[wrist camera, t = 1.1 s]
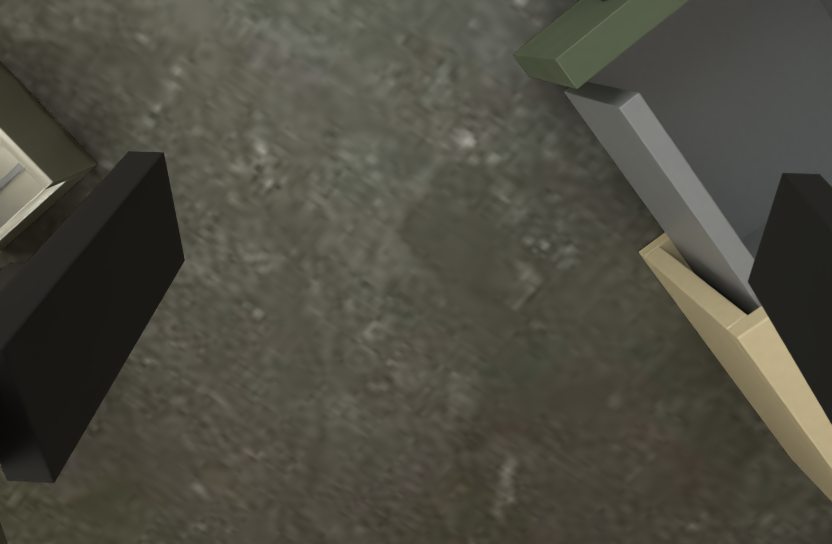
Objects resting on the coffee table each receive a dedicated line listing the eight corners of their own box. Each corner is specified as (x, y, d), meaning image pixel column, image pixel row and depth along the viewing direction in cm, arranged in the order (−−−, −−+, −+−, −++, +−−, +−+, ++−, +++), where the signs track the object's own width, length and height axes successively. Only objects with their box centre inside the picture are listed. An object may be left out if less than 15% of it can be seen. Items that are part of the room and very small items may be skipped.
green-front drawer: (451, -29, 30) (472, -57, 22) (708, -249, 28) (842, -376, 19) (681, 286, 35) (774, 365, 26) (918, 117, 32) (1102, 144, 24)
